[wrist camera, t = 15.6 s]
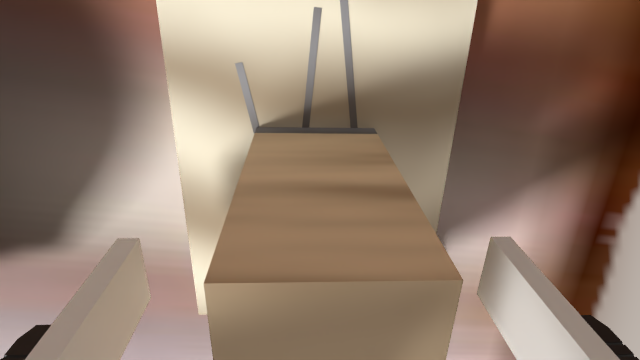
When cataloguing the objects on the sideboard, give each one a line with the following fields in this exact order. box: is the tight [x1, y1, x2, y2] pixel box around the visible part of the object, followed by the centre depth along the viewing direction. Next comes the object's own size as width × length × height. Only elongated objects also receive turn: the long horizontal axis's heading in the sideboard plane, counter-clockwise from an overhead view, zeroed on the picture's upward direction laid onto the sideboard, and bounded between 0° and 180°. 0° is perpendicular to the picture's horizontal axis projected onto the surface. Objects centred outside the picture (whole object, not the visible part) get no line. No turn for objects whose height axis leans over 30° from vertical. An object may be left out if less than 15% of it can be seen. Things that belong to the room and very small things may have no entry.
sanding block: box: [204, 127, 463, 360], centre depth 14 cm, size 9×5×10 cm, turn 179°
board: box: [156, 0, 478, 315], centre depth 17 cm, size 24×12×2 cm, turn 179°
